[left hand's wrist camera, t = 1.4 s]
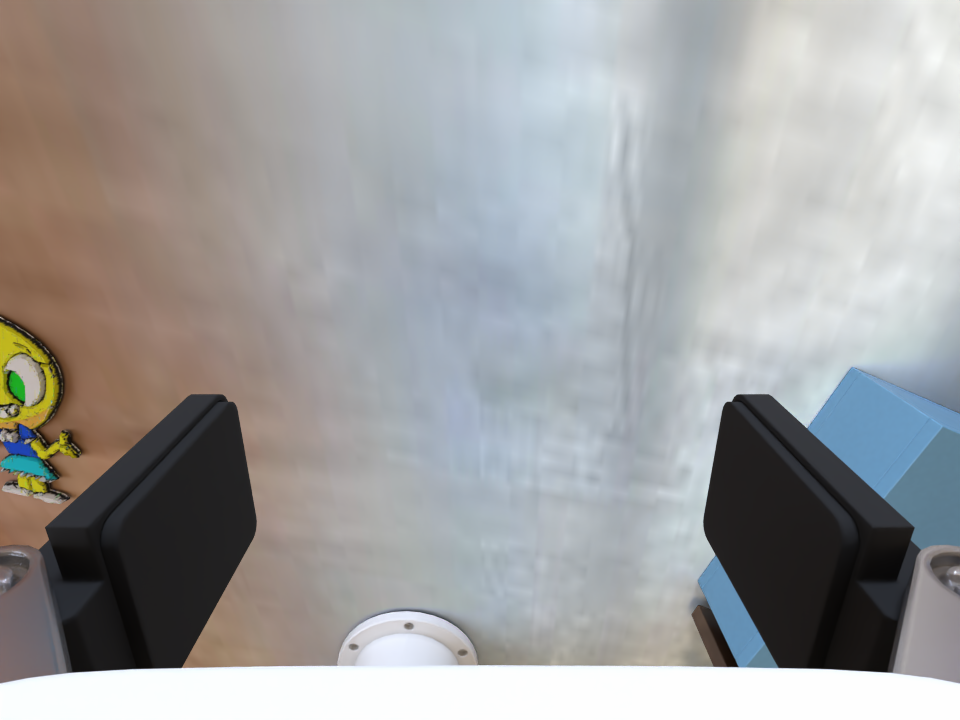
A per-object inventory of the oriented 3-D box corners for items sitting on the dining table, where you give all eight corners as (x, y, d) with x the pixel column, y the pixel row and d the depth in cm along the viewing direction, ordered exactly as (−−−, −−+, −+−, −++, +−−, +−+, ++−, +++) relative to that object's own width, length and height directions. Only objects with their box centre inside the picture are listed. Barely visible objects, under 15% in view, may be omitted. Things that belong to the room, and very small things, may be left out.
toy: (-65, 479, 44) (-81, 296, 39) (-55, 473, 45) (-70, 293, 39) (73, 509, 45) (75, 334, 40) (80, 502, 46) (83, 330, 40)
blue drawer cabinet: (808, 619, 51) (871, 715, 42) (697, 580, 49) (740, 672, 41) (976, 420, 43) (1091, 489, 35) (851, 366, 42) (943, 425, 33)
